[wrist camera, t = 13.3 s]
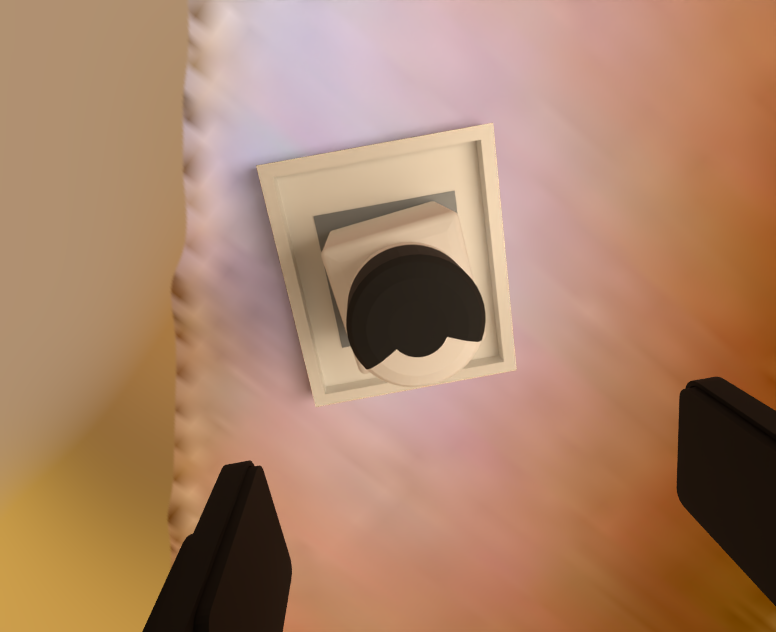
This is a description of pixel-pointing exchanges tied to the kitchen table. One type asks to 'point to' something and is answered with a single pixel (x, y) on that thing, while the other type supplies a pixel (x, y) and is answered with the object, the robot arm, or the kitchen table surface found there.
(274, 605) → the robot arm
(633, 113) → the kitchen table surface
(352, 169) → the tray
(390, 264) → the medicine bottle
